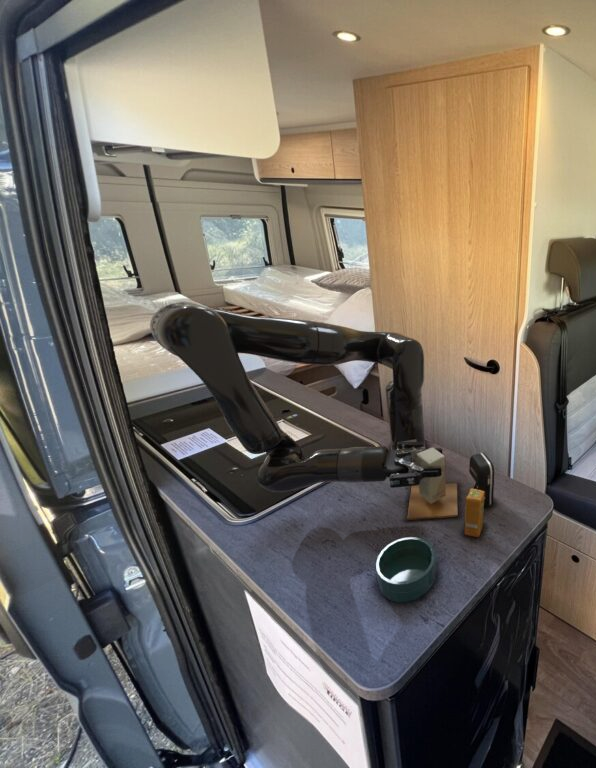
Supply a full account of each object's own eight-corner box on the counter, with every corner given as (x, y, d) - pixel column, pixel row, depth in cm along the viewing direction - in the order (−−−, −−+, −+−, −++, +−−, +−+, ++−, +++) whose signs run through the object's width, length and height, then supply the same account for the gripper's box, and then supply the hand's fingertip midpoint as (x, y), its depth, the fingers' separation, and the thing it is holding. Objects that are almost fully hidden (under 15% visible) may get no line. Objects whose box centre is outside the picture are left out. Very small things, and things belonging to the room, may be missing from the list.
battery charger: (467, 492, 94) (467, 452, 90) (481, 487, 96) (482, 449, 91) (479, 510, 89) (479, 469, 84) (494, 505, 90) (495, 465, 86)
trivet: (411, 487, 95) (411, 485, 95) (457, 485, 96) (457, 483, 96) (407, 520, 85) (407, 518, 85) (457, 516, 87) (457, 514, 86)
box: (446, 496, 89) (446, 456, 85) (430, 504, 87) (429, 464, 82) (433, 484, 93) (432, 446, 88) (417, 492, 90) (416, 452, 85)
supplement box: (480, 538, 81) (480, 500, 77) (464, 535, 82) (464, 497, 78) (484, 526, 84) (484, 490, 80) (469, 523, 85) (468, 487, 81)
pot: (383, 556, 76) (380, 539, 74) (436, 551, 78) (436, 535, 76) (373, 605, 67) (370, 587, 65) (434, 599, 68) (433, 581, 66)
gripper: (354, 470, 76) (441, 467, 78) (368, 432, 89) (442, 430, 91) (358, 500, 79) (441, 496, 81) (371, 459, 92) (442, 456, 94)
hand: (441, 461), depth 86 cm, fingers closed on box, 6 cm apart
